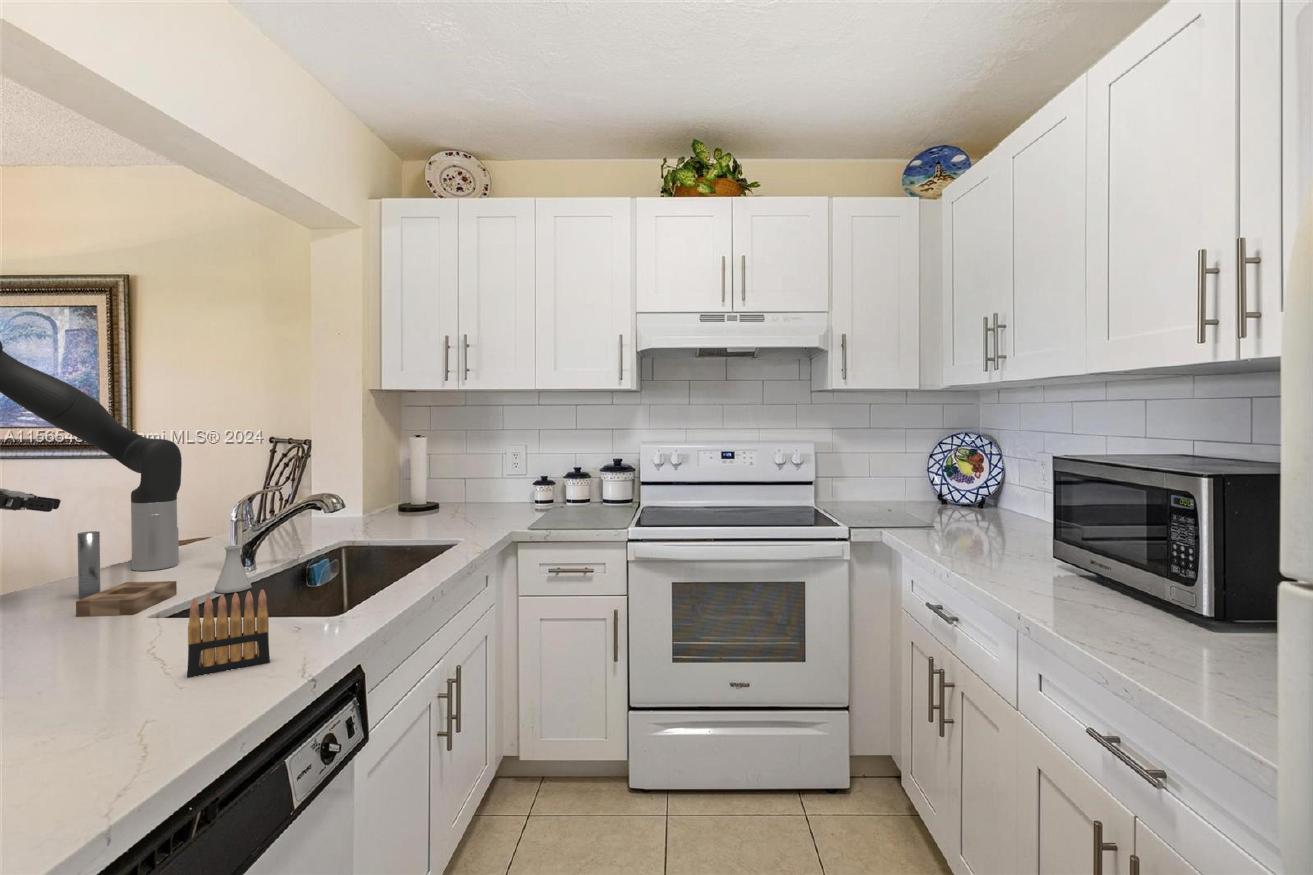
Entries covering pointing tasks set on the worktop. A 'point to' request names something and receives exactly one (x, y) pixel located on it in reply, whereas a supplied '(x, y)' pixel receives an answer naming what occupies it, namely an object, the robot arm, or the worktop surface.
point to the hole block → (126, 598)
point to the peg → (88, 563)
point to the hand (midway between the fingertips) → (56, 505)
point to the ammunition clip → (227, 636)
